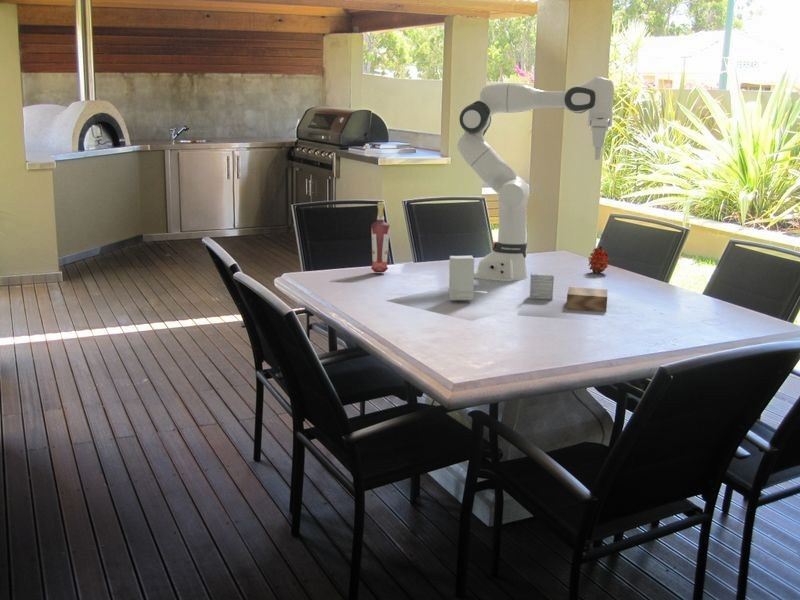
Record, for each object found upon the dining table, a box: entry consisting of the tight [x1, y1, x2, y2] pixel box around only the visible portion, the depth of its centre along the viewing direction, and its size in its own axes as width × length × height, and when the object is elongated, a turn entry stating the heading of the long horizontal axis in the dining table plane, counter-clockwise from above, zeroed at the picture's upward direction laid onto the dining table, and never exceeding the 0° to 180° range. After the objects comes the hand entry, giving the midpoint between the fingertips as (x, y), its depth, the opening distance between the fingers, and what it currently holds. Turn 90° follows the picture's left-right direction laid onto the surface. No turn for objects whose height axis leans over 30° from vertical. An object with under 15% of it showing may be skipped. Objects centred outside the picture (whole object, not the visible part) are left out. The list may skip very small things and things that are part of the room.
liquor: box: [370, 201, 390, 273], centre depth 340 cm, size 7×7×28 cm
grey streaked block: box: [529, 272, 555, 301], centre depth 297 cm, size 8×4×9 cm, turn 84°
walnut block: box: [565, 286, 608, 312], centre depth 286 cm, size 13×13×5 cm
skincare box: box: [448, 255, 475, 301], centre depth 293 cm, size 8×6×15 cm
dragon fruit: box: [588, 245, 610, 274], centre depth 347 cm, size 8×8×12 cm
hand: (597, 159), depth 321 cm, fingers open, 8 cm apart
